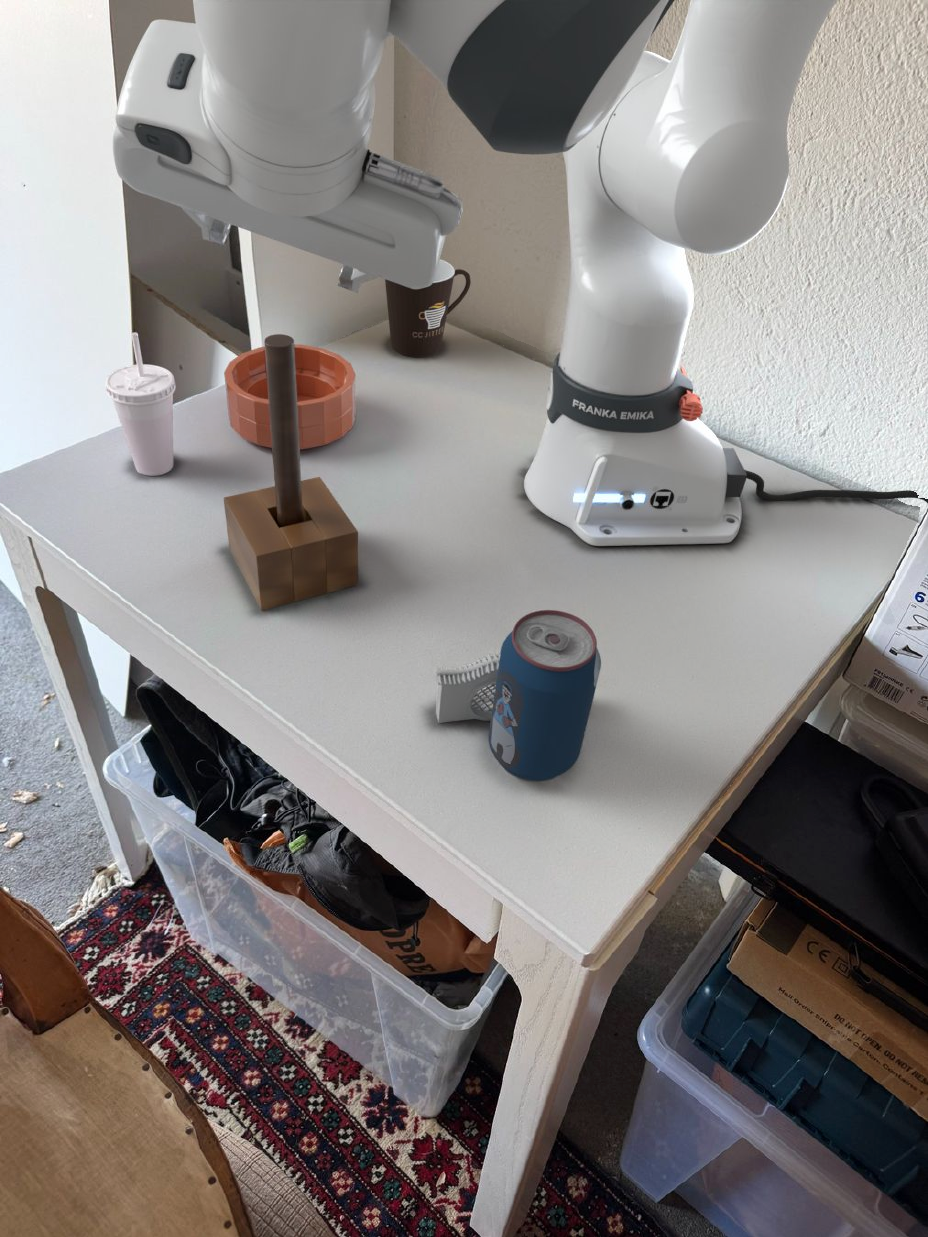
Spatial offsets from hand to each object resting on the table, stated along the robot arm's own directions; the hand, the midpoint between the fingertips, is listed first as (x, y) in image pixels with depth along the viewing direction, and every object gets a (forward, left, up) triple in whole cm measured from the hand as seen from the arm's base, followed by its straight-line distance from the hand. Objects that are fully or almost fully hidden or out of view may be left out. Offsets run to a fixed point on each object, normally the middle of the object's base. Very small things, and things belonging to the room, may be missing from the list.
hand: (285, 257), depth 64 cm
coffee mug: (-7, -48, -29) cm, 57 cm away
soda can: (-21, +18, -29) cm, 40 cm away
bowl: (+6, -26, -29) cm, 40 cm away
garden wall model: (-19, +14, -29) cm, 37 cm away
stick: (+1, -1, -29) cm, 29 cm away
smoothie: (+18, -15, -29) cm, 37 cm away
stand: (+1, -1, -29) cm, 29 cm away
